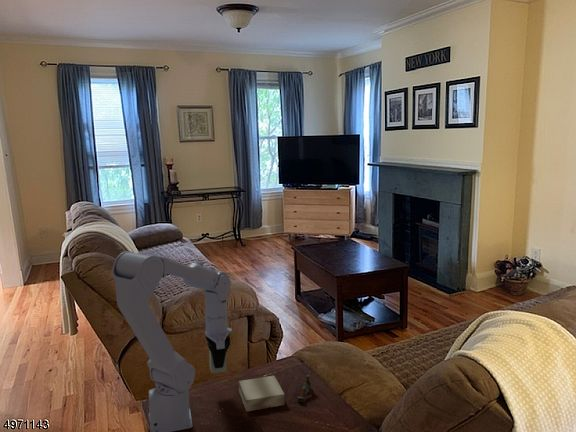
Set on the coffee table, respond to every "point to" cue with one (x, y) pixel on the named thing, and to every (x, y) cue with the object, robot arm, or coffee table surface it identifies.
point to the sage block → (212, 368)
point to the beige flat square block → (261, 393)
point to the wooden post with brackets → (305, 389)
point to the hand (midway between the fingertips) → (217, 363)
